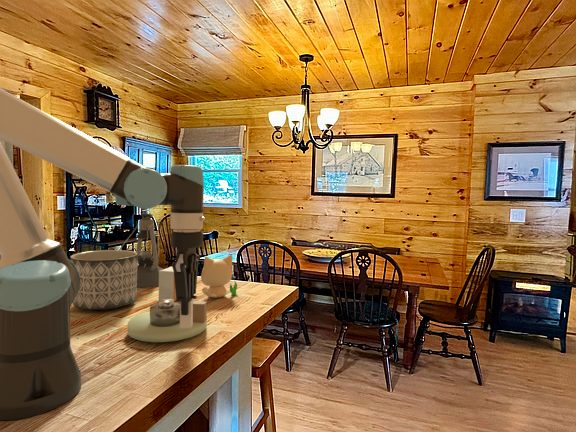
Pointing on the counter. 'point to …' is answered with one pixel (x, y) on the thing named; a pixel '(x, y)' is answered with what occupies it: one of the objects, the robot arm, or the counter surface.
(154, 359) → the counter surface
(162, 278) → the small box
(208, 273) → the kitten
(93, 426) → the counter surface
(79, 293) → the planter
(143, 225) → the lantern
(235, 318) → the counter surface
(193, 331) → the turntable
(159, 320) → the cover
